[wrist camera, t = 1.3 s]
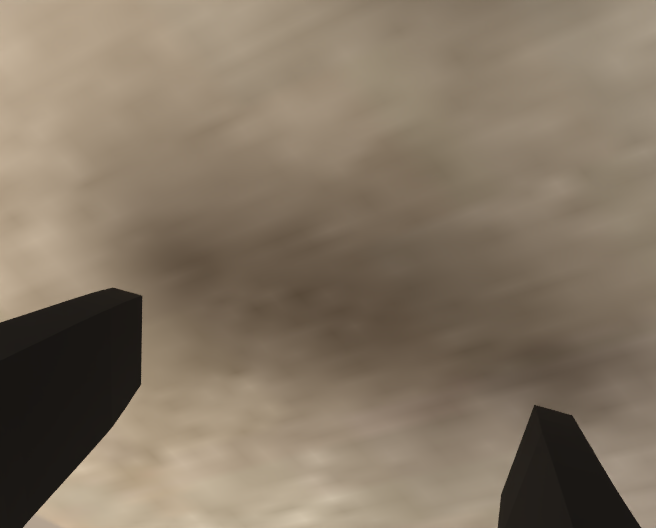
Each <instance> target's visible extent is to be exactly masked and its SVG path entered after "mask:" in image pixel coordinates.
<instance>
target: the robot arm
mask: <svg viewBox="0 0 656 528" xmlns="http://www.w3.org/2000/svg"><path fill="white" fill-rule="evenodd" d="M141 346H142V296H141V295H137V294H134V293H130V292H127V291H123V290H119V289H116V288H110V289H106V290H101V291H98V292H94V293H91V294H87V295H84V296H81V297H78V298H74V299H71V300H68V301H65V302H62V303H59V304H56V305H53V306H50V307H47V308H44V309H41V310H38V311H35V312H32V313H29V314H26V315H22V316H19V317H16V318H13V319H10V320H7V321H4V322H1V323H0V528H23V527H24V525H25V524H26V523H27V522H28V521H29V520H30V519H31V517H32V516H33V515H34V514H35V513H36V512H37V511H38V510H39V509H40V507H41V506H42V505H43V504H44V503H45V502H46V501H47V500H48V499H49V497H50V496H51V495H52V494H53V493H54V492H55V491H56V490H57V489H58V488H59V486H60V485H61V484H62V483H63V482H64V481H65V480H66V479H67V478H68V476H69V475H70V474H71V473H72V472H73V471H74V470H75V469H76V468H77V466H78V465H79V464H80V463H81V462H82V461H83V460H84V459H85V458H86V456H87V455H88V454H89V453H90V452H91V451H92V450H93V449H94V447H95V446H96V445H97V444H98V443H99V442H100V441H101V440H102V438H103V437H104V436H105V435H106V434H107V433H108V431H109V430H110V429H111V428H112V427H113V425H114V424H115V422H116V421H117V420H118V418H119V417H120V415H121V414H122V412H123V411H124V410H125V408H126V407H127V405H128V404H129V402H130V400H131V399H132V397H133V396H134V394H135V393H136V391H137V390H138V388H139V387H140V385H141ZM498 528H641V527H640V525H639V524H638V522H637V521H636V519H635V518H634V516H633V515H632V513H631V512H630V510H629V509H628V507H627V506H626V504H625V502H624V501H623V499H622V498H621V496H620V495H619V493H618V491H617V490H616V488H615V487H614V485H613V483H612V482H611V480H610V478H609V477H608V475H607V473H606V472H605V470H604V468H603V467H602V465H601V463H600V462H599V460H598V458H597V457H596V455H595V453H594V451H593V450H592V448H591V446H590V445H589V443H588V441H587V440H586V438H585V436H584V434H583V433H582V431H581V429H580V428H579V426H578V424H577V423H576V421H575V419H574V418H573V416H572V415H569V414H565V413H562V412H558V411H554V410H551V409H547V408H544V407H540V406H536V405H534V408H533V410H532V413H531V416H530V418H529V421H528V424H527V426H526V429H525V432H524V435H523V437H522V440H521V443H520V445H519V448H518V451H517V454H516V456H515V459H514V462H513V464H512V467H511V470H510V472H509V475H508V478H507V481H506V483H505V486H504V489H503V491H502V494H501V502H500V512H499V521H498Z"/></svg>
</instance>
